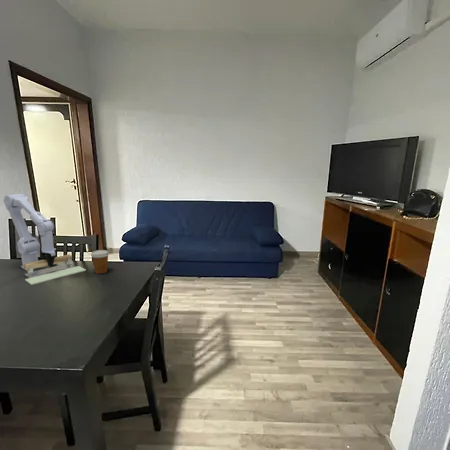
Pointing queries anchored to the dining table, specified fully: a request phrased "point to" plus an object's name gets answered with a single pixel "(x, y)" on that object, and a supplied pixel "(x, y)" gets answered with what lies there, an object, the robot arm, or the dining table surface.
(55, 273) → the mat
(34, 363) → the dining table surface
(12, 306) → the dining table surface
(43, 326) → the dining table surface
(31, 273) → the rack
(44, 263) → the rail
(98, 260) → the disposable coffee cup
